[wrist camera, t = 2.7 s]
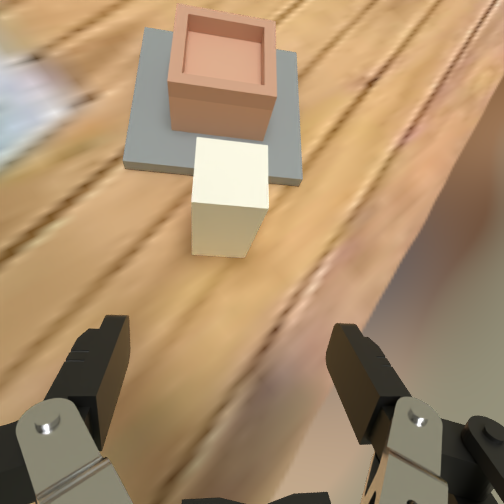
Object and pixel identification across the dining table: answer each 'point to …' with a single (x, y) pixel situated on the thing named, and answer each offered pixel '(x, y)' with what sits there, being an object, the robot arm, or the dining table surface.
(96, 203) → the dining table surface
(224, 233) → the tall brick
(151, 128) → the tower base
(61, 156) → the dining table surface
